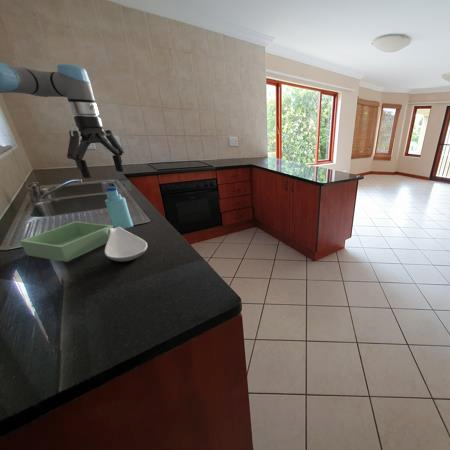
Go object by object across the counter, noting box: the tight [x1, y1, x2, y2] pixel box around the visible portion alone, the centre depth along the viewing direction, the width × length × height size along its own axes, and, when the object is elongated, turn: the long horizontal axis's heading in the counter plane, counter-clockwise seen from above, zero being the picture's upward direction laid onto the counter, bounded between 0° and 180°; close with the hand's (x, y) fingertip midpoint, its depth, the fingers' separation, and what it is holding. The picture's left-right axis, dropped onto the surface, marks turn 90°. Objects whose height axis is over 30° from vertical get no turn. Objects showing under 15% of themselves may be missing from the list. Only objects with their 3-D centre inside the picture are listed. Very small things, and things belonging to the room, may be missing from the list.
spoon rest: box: [104, 227, 148, 262], centre depth 83 cm, size 24×12×7 cm, turn 49°
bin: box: [19, 220, 114, 263], centre depth 86 cm, size 18×18×6 cm
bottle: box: [104, 185, 134, 230], centre depth 100 cm, size 7×7×18 cm
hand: (104, 174), depth 94 cm, fingers open, 13 cm apart
